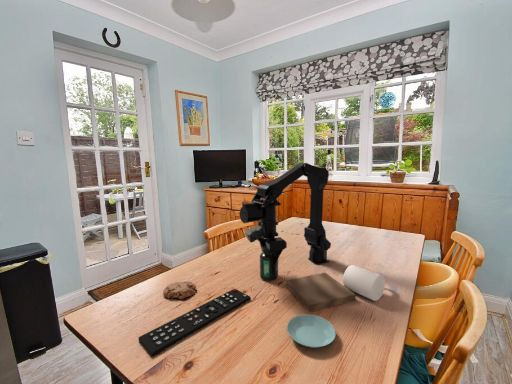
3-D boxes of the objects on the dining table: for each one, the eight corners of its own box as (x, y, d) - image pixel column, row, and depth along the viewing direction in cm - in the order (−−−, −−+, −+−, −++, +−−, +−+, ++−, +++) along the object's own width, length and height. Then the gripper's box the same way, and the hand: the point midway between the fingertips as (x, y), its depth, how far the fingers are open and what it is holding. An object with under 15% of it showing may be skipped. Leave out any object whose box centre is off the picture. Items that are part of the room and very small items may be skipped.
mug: (371, 305, 77) (372, 280, 76) (342, 291, 85) (342, 268, 84) (390, 291, 84) (392, 268, 83) (362, 280, 92) (363, 259, 91)
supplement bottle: (268, 283, 91) (267, 251, 89) (256, 276, 96) (255, 246, 95) (282, 277, 95) (281, 246, 94) (269, 271, 101) (269, 241, 99)
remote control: (251, 300, 81) (251, 295, 81) (152, 359, 59) (151, 351, 59) (235, 292, 87) (235, 286, 87) (139, 342, 64) (138, 335, 64)
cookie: (162, 289, 89) (161, 281, 89) (193, 283, 93) (192, 275, 93) (164, 304, 80) (163, 295, 80) (198, 296, 84) (198, 288, 84)
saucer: (326, 320, 70) (326, 313, 70) (342, 354, 59) (343, 345, 58) (283, 322, 70) (283, 315, 70) (291, 356, 58) (291, 347, 58)
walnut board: (325, 277, 94) (325, 272, 94) (355, 300, 79) (355, 294, 79) (285, 285, 89) (285, 280, 89) (309, 311, 74) (309, 305, 74)
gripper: (239, 215, 99) (241, 254, 101) (255, 227, 81) (256, 274, 84) (266, 212, 102) (267, 250, 105) (287, 224, 85) (287, 268, 87)
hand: (269, 259), depth 95 cm, fingers open, 9 cm apart
